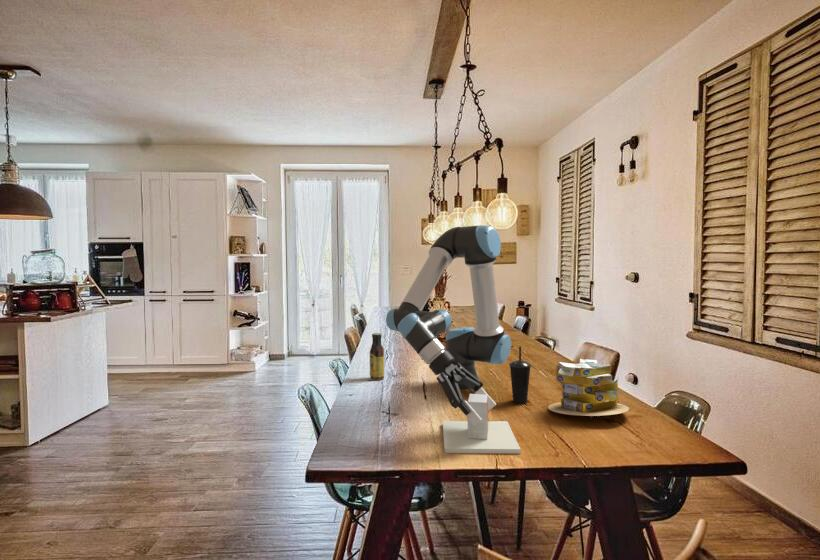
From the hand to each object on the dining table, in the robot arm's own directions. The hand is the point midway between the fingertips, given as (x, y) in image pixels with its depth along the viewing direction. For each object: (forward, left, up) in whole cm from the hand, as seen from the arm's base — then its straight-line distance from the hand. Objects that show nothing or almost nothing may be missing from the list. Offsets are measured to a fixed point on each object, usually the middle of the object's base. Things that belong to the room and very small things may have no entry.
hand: (486, 414), depth 126 cm
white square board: (+1, -2, -7) cm, 8 cm away
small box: (+1, -2, -6) cm, 7 cm away
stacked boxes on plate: (-41, +10, -7) cm, 43 cm away
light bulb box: (-67, -2, -7) cm, 68 cm away
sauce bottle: (-17, -72, -7) cm, 75 cm away
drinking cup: (-35, -12, -7) cm, 38 cm away
